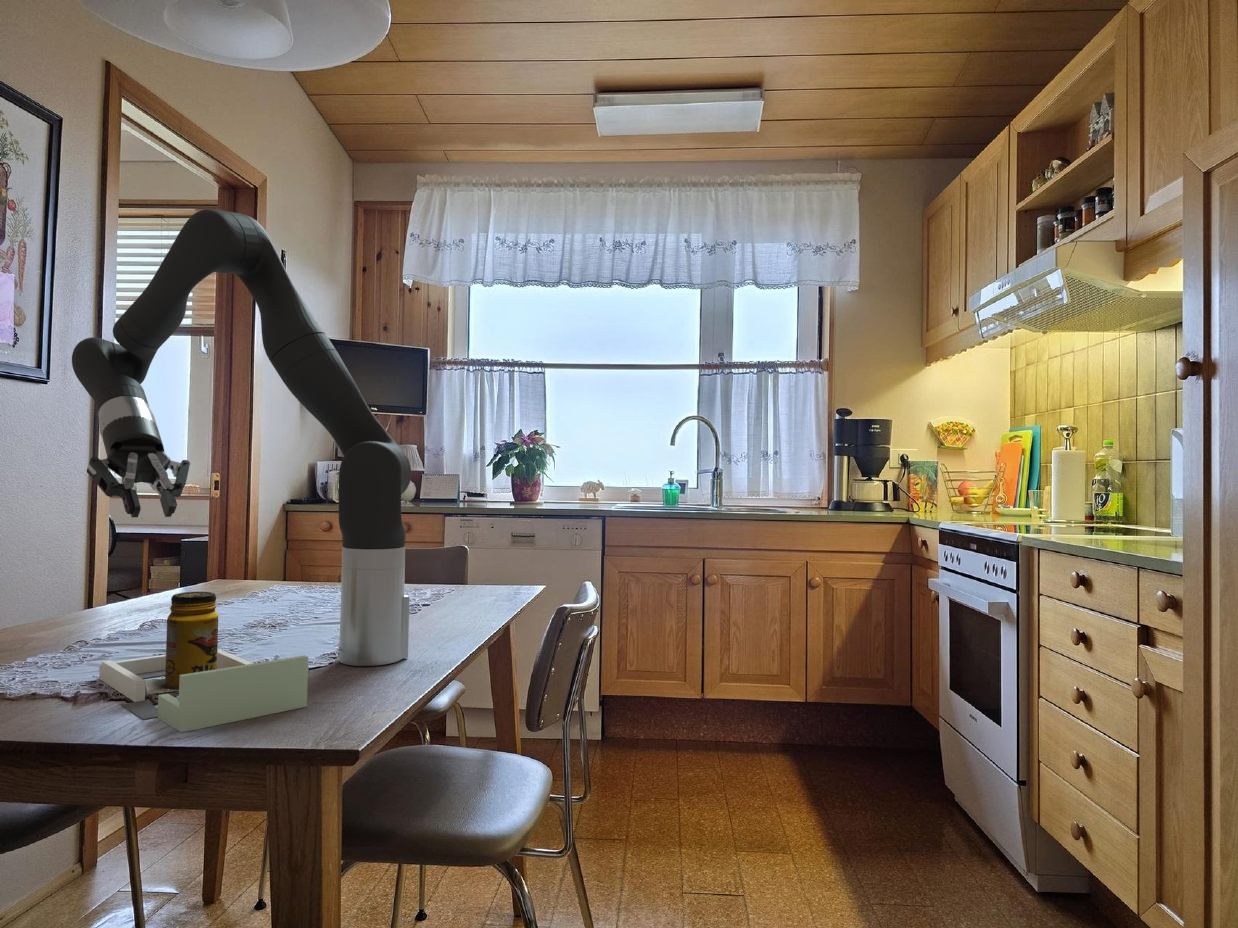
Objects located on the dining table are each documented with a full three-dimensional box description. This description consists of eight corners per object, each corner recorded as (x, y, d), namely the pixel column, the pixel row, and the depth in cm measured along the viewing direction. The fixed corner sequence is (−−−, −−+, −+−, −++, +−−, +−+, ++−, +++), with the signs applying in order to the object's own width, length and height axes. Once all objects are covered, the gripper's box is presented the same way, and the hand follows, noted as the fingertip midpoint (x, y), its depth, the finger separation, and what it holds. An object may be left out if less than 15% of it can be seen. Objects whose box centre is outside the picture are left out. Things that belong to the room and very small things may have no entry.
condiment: (222, 687, 103) (225, 595, 103) (147, 695, 98) (150, 600, 98) (215, 674, 109) (218, 588, 109) (144, 682, 104) (147, 592, 104)
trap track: (209, 662, 115) (210, 621, 116) (306, 706, 95) (308, 656, 95) (85, 680, 104) (87, 635, 104) (165, 735, 83) (167, 679, 83)
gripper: (81, 410, 115) (102, 495, 106) (186, 417, 125) (213, 495, 117) (70, 447, 118) (90, 532, 110) (173, 451, 129) (198, 529, 120)
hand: (153, 513), depth 113 cm, fingers open, 3 cm apart
